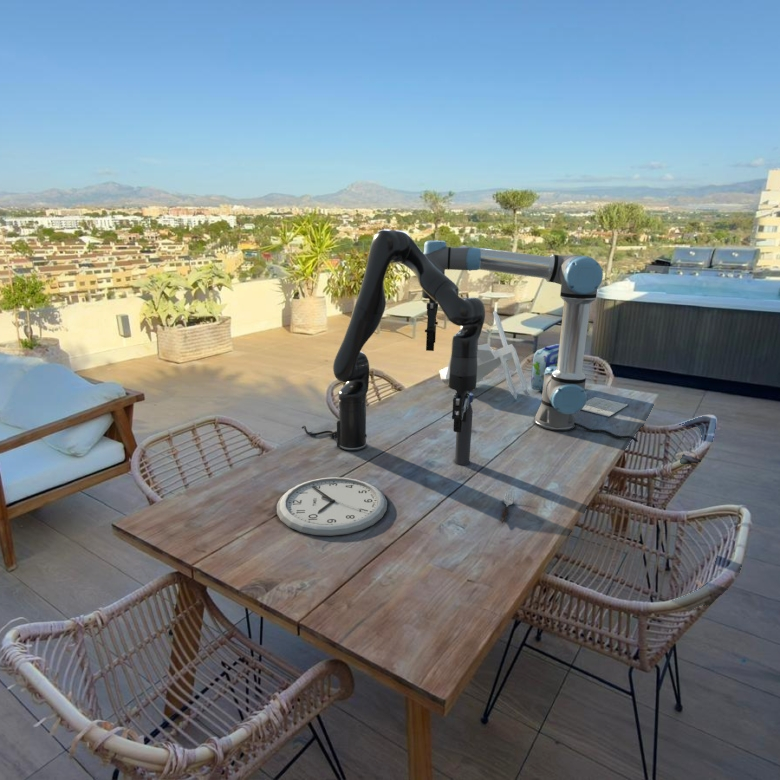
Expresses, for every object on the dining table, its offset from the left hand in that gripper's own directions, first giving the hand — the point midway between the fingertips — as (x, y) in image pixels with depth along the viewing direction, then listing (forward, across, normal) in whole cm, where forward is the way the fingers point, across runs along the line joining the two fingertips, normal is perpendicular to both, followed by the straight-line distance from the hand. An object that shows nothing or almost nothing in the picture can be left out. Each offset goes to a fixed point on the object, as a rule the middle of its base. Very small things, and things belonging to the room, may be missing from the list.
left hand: (460, 426), depth 148 cm
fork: (+19, +9, +15) cm, 26 cm away
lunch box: (+19, -114, +26) cm, 118 cm away
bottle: (+19, -18, -1) cm, 26 cm away
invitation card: (+19, -93, +47) cm, 106 cm away
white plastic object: (+19, -96, -6) cm, 98 cm away
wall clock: (+19, +22, -30) cm, 42 cm away
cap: (-4, -18, -1) cm, 18 cm away
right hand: (-13, -42, -19) cm, 48 cm away
